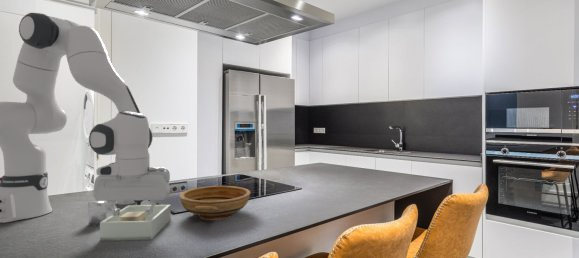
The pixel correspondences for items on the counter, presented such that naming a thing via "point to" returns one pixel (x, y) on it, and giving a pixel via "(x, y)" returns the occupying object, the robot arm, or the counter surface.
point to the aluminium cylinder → (96, 212)
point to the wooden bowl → (214, 201)
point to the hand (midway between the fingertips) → (132, 215)
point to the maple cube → (133, 216)
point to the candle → (125, 202)
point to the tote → (135, 224)
